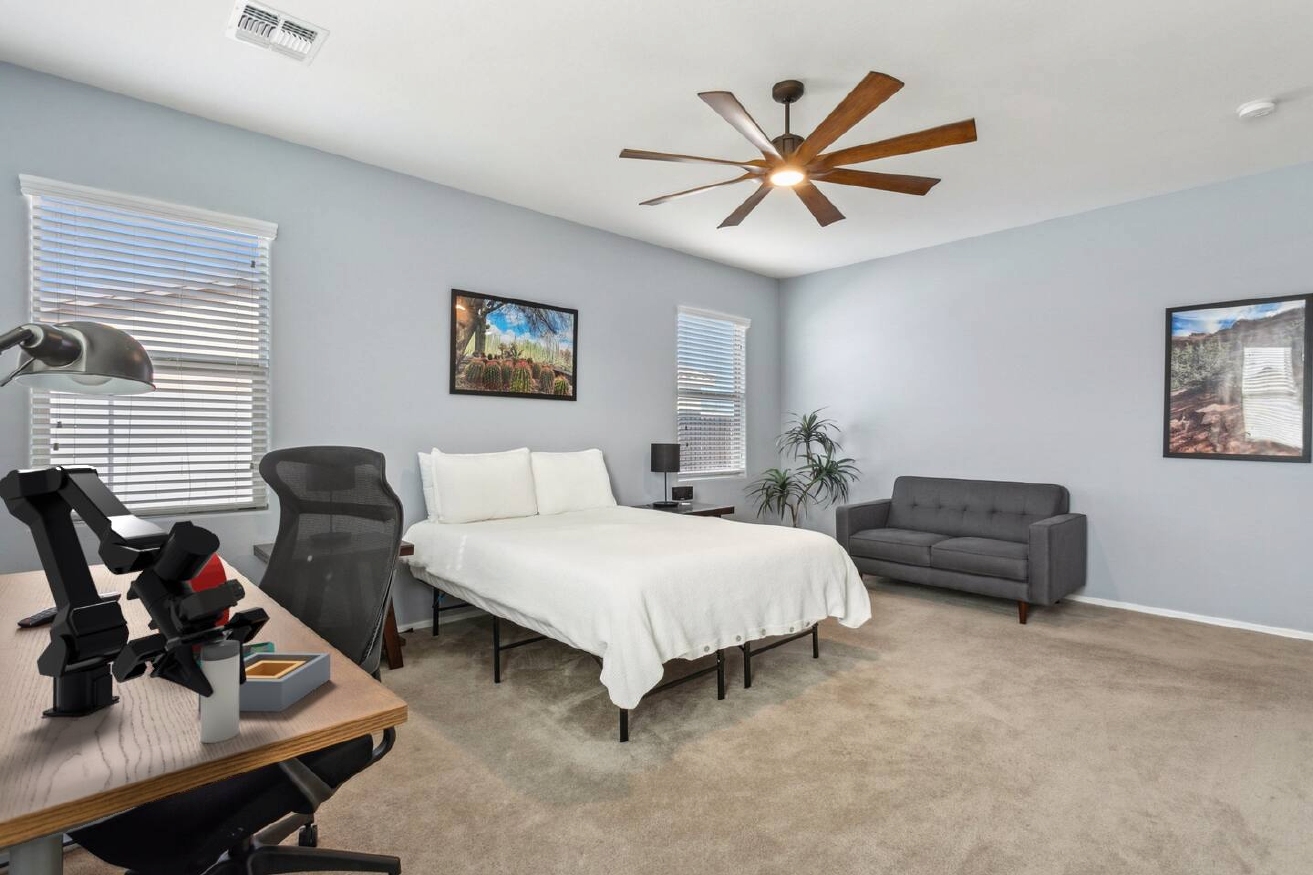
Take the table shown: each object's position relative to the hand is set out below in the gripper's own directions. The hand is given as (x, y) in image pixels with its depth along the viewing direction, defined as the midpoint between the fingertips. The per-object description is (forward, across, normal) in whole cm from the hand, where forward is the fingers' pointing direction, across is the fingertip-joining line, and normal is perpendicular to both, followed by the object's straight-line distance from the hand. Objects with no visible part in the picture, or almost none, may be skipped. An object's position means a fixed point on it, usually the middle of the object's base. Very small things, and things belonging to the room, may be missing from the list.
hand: (227, 688), depth 88 cm
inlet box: (-1, +13, +10) cm, 17 cm away
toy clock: (-24, +23, +33) cm, 47 cm away
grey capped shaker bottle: (+4, 0, +6) cm, 7 cm away
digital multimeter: (-15, +21, +25) cm, 36 cm away
